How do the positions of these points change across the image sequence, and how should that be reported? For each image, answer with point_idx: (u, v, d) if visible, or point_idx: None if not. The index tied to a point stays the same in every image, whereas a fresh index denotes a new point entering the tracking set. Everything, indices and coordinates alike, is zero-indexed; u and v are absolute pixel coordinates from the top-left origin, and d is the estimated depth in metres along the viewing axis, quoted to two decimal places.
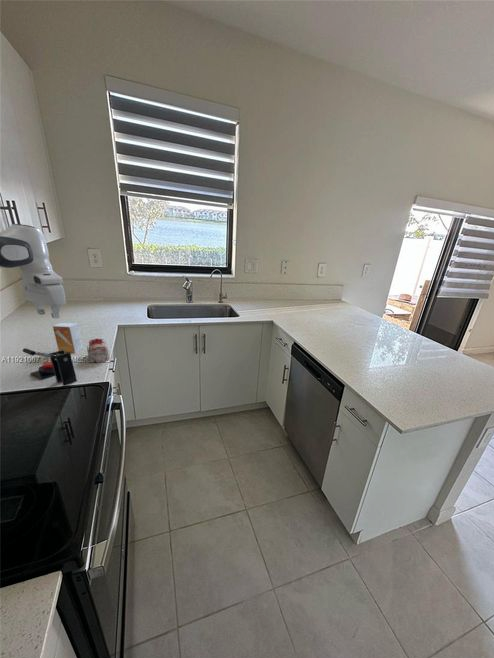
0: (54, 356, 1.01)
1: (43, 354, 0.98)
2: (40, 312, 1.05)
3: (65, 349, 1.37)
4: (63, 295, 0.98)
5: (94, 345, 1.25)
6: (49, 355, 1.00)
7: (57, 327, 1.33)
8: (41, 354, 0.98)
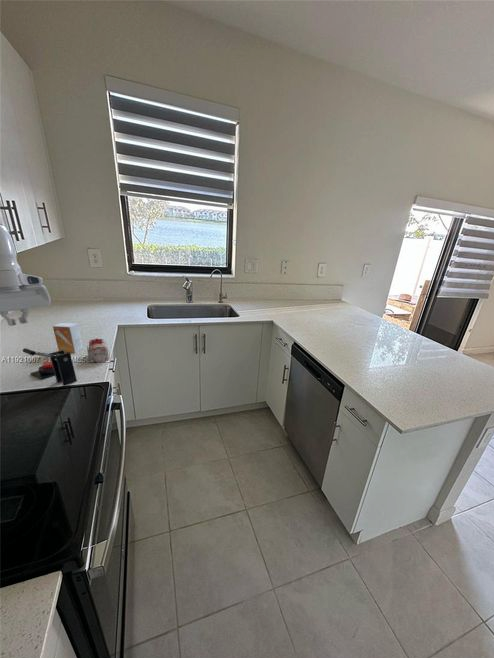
0: (54, 356, 1.01)
1: (43, 354, 0.98)
2: None
3: (65, 349, 1.37)
4: None
5: (94, 345, 1.25)
6: (49, 355, 1.00)
7: (57, 327, 1.33)
8: (41, 354, 0.98)
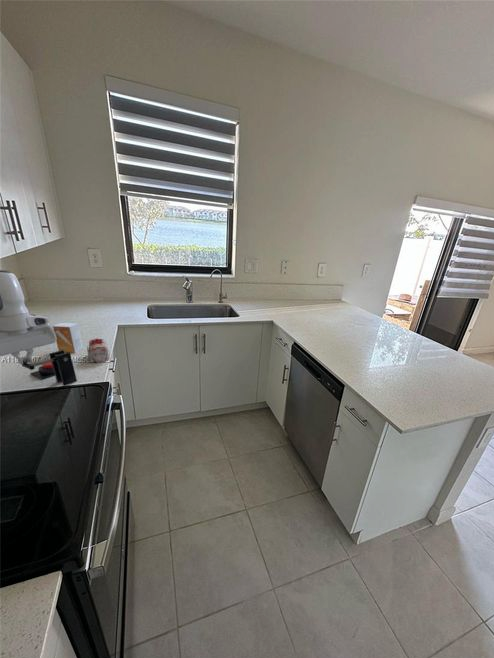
0: (54, 359, 1.02)
1: (42, 362, 0.99)
2: None
3: (65, 349, 1.37)
4: None
5: (94, 345, 1.25)
6: (48, 361, 1.00)
7: (57, 327, 1.33)
8: (41, 363, 0.98)
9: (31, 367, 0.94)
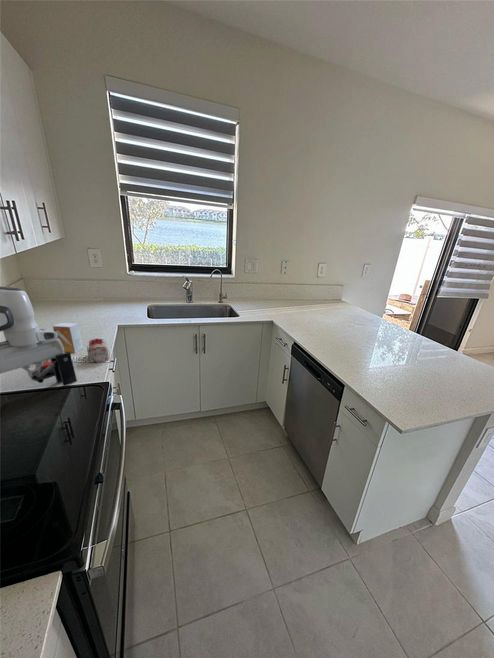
0: (55, 363, 1.02)
1: (47, 370, 1.00)
2: None
3: (65, 349, 1.37)
4: None
5: (94, 345, 1.25)
6: (52, 366, 1.01)
7: (57, 327, 1.33)
8: (46, 371, 1.00)
9: (40, 381, 0.97)
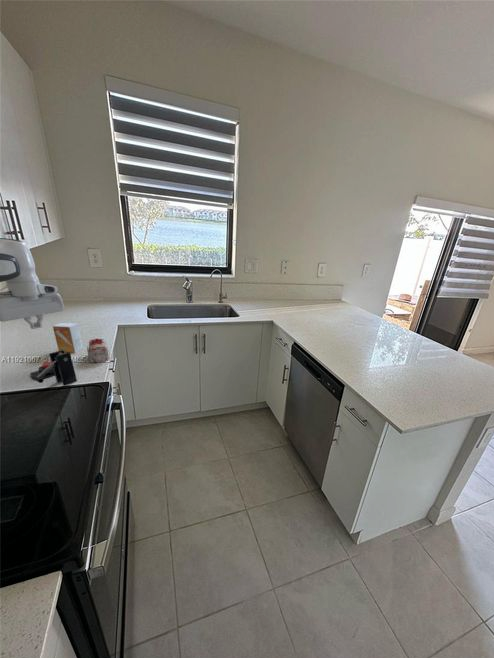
0: (55, 363, 1.02)
1: (47, 370, 1.00)
2: None
3: (65, 349, 1.37)
4: None
5: (94, 345, 1.25)
6: (52, 366, 1.01)
7: (57, 327, 1.33)
8: (46, 371, 1.00)
9: (40, 381, 0.97)
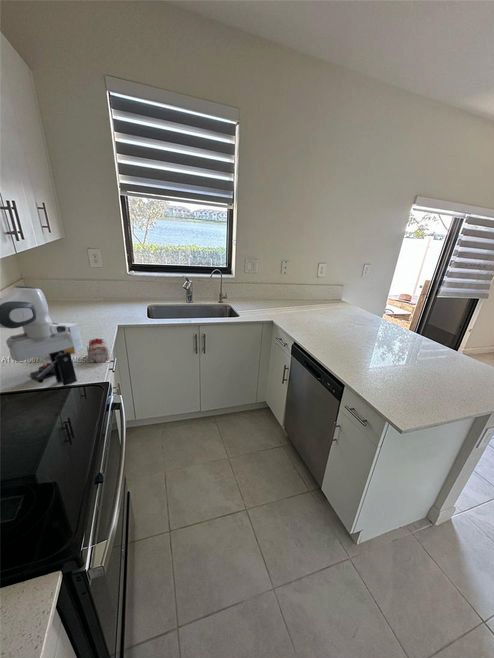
0: (55, 363, 1.02)
1: (47, 370, 1.00)
2: None
3: (65, 349, 1.37)
4: None
5: (94, 345, 1.25)
6: (52, 366, 1.01)
7: None
8: (46, 371, 1.00)
9: (40, 381, 0.97)
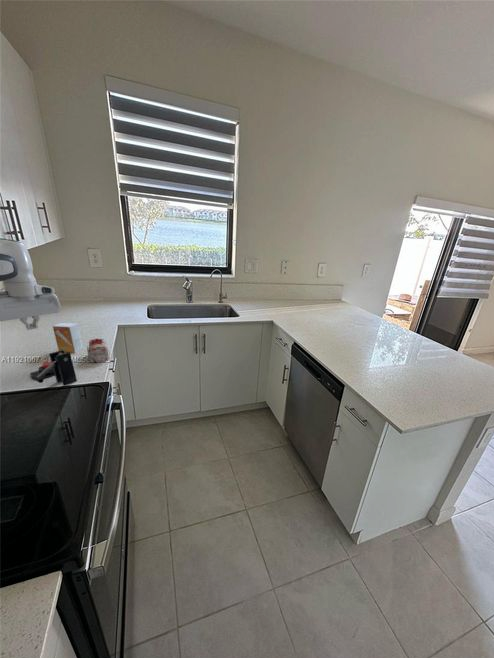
0: (55, 363, 1.02)
1: (47, 370, 1.00)
2: None
3: (65, 349, 1.37)
4: None
5: (94, 345, 1.25)
6: (52, 366, 1.01)
7: (57, 327, 1.33)
8: (46, 371, 1.00)
9: (40, 381, 0.97)
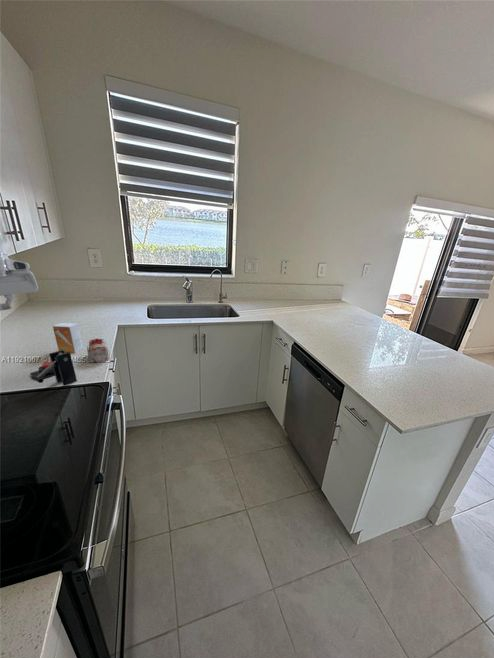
0: (55, 363, 1.02)
1: (47, 370, 1.00)
2: None
3: (65, 349, 1.37)
4: None
5: (94, 345, 1.25)
6: (52, 366, 1.01)
7: (57, 327, 1.33)
8: (46, 371, 1.00)
9: (40, 381, 0.97)
